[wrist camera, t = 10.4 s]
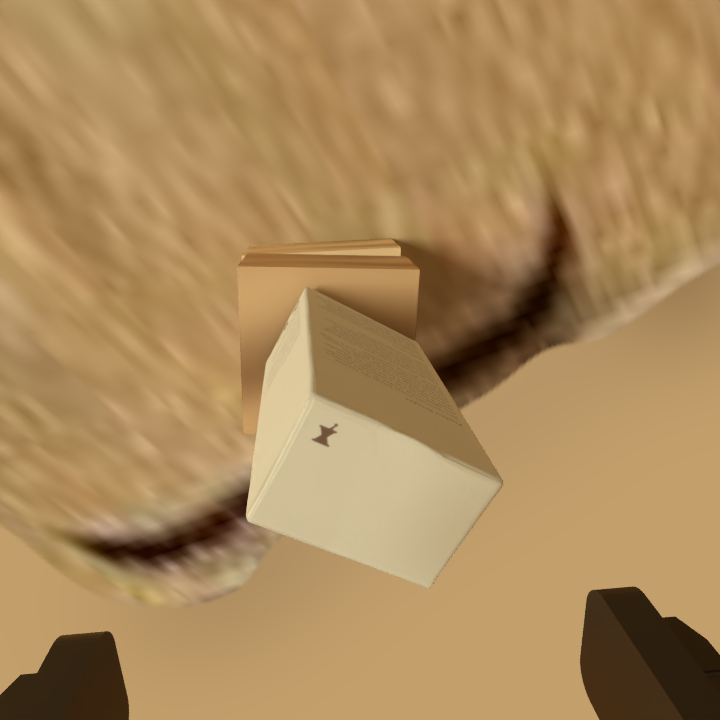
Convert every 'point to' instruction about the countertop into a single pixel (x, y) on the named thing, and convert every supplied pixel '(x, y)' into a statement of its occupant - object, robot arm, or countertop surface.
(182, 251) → the countertop surface
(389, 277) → the tan square block
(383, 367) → the skincare box
